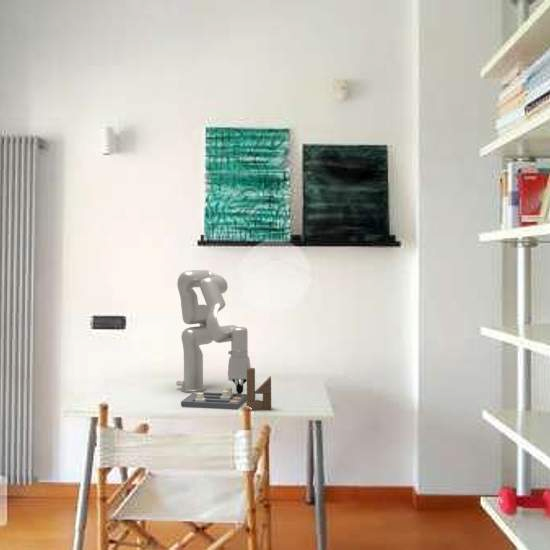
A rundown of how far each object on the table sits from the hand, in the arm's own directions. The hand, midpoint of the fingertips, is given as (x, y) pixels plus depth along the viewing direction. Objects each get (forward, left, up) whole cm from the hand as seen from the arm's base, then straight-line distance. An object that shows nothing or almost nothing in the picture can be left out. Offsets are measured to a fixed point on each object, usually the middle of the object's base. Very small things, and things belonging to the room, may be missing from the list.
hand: (239, 393), depth 259 cm
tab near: (-15, -12, -2) cm, 20 cm away
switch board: (-10, -6, -3) cm, 12 cm away
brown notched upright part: (+12, -13, -4) cm, 18 cm away
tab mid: (-5, -6, -2) cm, 8 cm away
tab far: (-5, 0, -2) cm, 6 cm away
